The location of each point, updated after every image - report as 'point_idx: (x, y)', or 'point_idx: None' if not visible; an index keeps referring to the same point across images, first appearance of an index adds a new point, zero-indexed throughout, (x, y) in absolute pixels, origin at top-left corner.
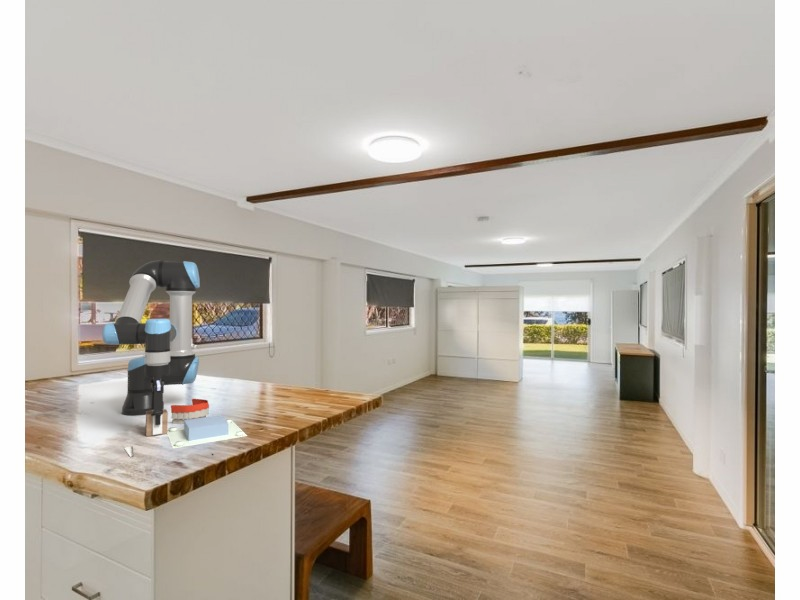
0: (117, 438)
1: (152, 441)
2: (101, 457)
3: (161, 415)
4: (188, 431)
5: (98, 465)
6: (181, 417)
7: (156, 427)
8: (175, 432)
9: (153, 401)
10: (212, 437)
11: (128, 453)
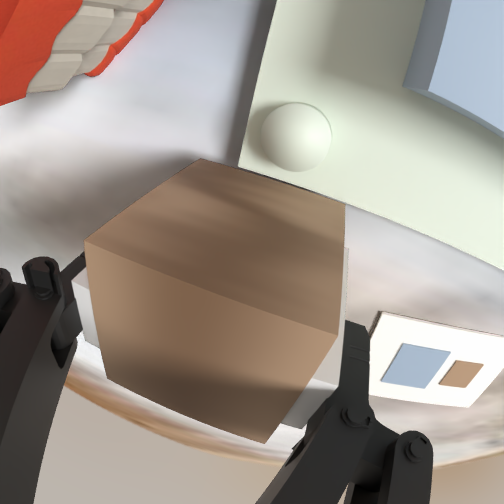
0: None
1: (354, 286)
2: None
3: (336, 380)
4: None
5: (435, 449)
6: (104, 19)
7: None
8: (365, 143)
9: (49, 420)
10: None
11: (434, 403)
